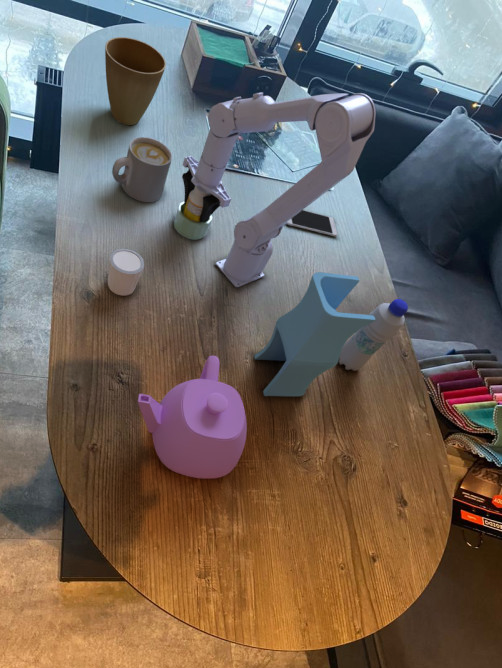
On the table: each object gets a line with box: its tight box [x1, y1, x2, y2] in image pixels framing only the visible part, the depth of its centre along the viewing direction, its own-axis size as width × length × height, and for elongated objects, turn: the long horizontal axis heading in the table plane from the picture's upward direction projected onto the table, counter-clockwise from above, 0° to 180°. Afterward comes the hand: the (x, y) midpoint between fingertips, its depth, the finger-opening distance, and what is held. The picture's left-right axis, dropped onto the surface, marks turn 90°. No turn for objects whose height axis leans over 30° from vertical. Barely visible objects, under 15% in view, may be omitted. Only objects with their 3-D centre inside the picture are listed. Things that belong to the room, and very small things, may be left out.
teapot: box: [137, 355, 248, 480], centre depth 85 cm, size 20×20×15 cm
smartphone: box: [286, 209, 338, 237], centre depth 136 cm, size 8×1×15 cm
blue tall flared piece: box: [253, 271, 376, 397], centre depth 95 cm, size 10×10×25 cm
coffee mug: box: [111, 136, 173, 203], centre depth 118 cm, size 13×10×10 cm
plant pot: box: [104, 36, 167, 126], centre depth 129 cm, size 15×15×16 cm
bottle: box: [338, 298, 409, 372], centre depth 105 cm, size 7×7×20 cm
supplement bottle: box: [183, 186, 211, 223], centre depth 115 cm, size 5×5×10 cm
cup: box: [173, 200, 213, 241], centre depth 119 cm, size 8×8×4 cm
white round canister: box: [107, 248, 145, 296], centre depth 102 cm, size 7×7×7 cm
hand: (195, 211), depth 117 cm, fingers closed on supplement bottle, 5 cm apart
